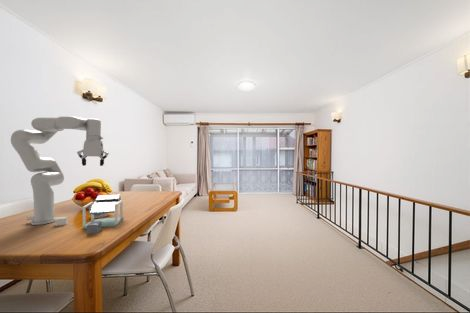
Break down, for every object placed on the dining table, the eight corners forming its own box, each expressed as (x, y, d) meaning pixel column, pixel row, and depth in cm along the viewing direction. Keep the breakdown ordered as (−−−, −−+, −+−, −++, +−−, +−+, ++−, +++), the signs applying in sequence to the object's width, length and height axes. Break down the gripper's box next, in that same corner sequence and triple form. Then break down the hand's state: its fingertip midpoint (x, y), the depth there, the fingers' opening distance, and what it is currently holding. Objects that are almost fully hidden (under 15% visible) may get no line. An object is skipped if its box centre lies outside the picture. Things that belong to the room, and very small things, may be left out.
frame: (81, 228, 118) (81, 207, 118) (92, 220, 132) (92, 201, 132) (116, 225, 123) (116, 205, 122) (123, 218, 137) (123, 199, 137)
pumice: (55, 226, 123) (55, 219, 123) (57, 224, 126) (57, 217, 126) (66, 224, 125) (65, 218, 125) (67, 222, 129) (67, 216, 129)
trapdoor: (87, 217, 122) (86, 211, 120) (97, 200, 137) (96, 195, 135) (115, 215, 126) (114, 209, 124) (122, 199, 141) (121, 194, 139)
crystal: (113, 214, 145) (113, 193, 145) (91, 219, 135) (91, 196, 134) (108, 212, 151) (108, 192, 151) (87, 216, 141) (86, 195, 141)
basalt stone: (86, 234, 110) (91, 230, 116) (97, 233, 111) (101, 229, 117) (86, 225, 110) (91, 221, 116) (97, 224, 111) (101, 221, 117)
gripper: (110, 139, 135) (110, 165, 135) (80, 138, 130) (80, 164, 131) (106, 138, 127) (106, 166, 128) (74, 137, 123) (74, 165, 124)
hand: (93, 165), depth 129 cm, fingers open, 9 cm apart
